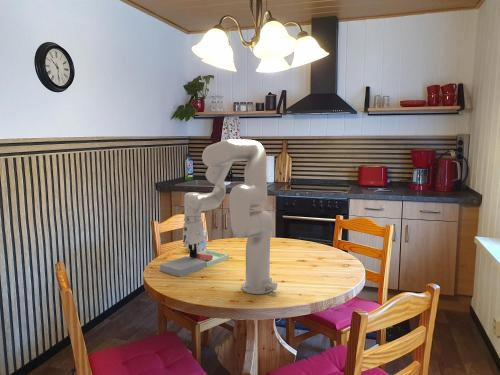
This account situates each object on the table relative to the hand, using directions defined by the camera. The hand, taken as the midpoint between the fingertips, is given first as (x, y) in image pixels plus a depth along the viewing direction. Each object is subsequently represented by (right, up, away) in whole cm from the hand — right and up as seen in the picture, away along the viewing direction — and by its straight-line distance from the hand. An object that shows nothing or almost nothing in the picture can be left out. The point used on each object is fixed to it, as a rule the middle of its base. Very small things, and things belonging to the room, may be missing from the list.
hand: (193, 257), depth 183 cm
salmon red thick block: (+3, -2, +4) cm, 6 cm away
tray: (+5, -3, +8) cm, 10 cm away
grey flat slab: (-4, -5, -5) cm, 8 cm away
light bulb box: (-1, -1, +23) cm, 23 cm away
